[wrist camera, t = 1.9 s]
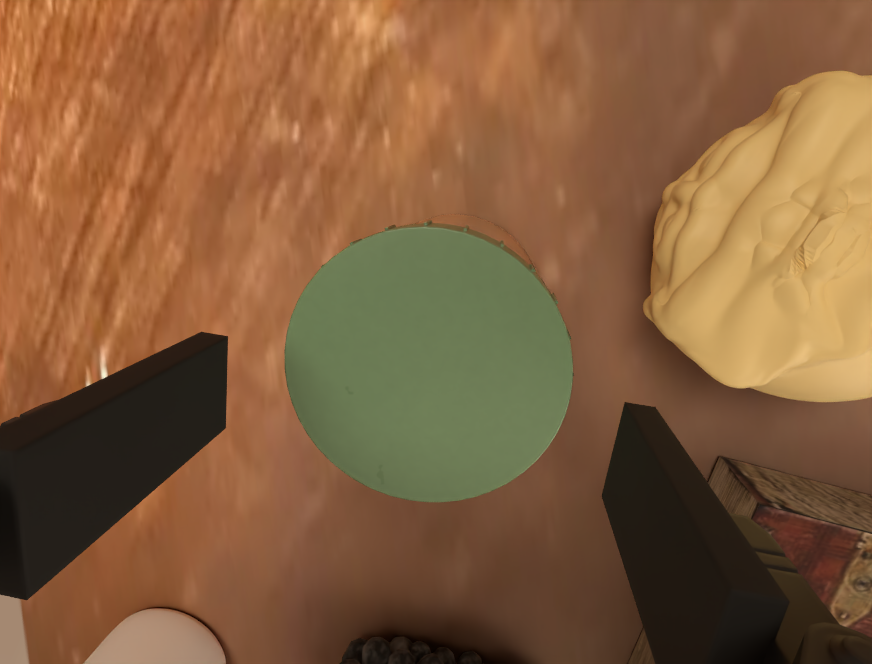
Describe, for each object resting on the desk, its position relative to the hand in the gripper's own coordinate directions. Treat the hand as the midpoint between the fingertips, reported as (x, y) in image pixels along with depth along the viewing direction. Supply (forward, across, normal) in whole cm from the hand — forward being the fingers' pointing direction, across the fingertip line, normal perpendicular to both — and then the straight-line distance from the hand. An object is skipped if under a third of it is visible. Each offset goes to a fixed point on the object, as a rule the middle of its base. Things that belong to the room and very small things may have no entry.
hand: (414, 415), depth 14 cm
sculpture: (+15, +14, +5) cm, 21 cm away
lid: (+4, 0, 0) cm, 4 cm away
